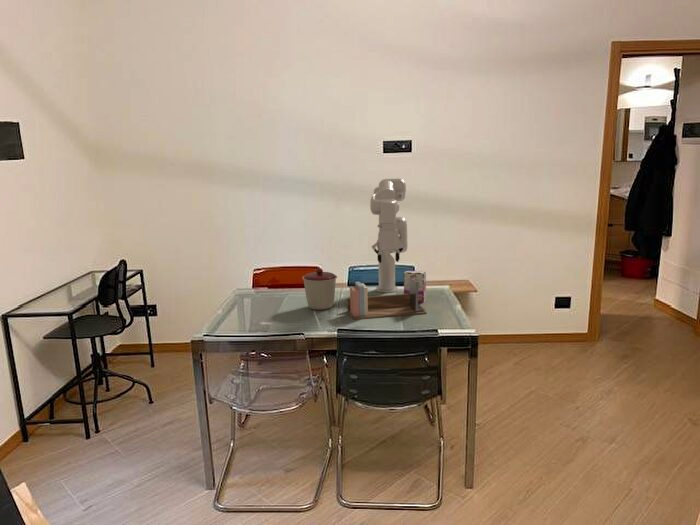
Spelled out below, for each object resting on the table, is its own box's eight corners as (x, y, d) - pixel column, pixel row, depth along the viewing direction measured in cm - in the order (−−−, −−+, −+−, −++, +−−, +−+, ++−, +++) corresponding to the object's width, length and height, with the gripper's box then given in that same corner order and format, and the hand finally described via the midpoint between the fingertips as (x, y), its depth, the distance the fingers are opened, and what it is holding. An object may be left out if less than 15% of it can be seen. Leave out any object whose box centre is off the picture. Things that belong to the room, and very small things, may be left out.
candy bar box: (426, 301, 287) (426, 271, 283) (423, 303, 282) (423, 273, 279) (406, 299, 291) (406, 270, 288) (403, 301, 287) (403, 272, 283)
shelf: (347, 311, 271) (347, 298, 270) (417, 305, 278) (417, 293, 277) (353, 319, 257) (353, 306, 256) (426, 313, 264) (426, 300, 262)
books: (350, 310, 269) (349, 282, 266) (363, 309, 270) (363, 281, 267) (354, 316, 259) (353, 286, 256) (368, 315, 260) (367, 285, 257)
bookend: (409, 306, 274) (409, 277, 271) (418, 305, 274) (418, 277, 272) (415, 311, 264) (415, 282, 261) (424, 310, 265) (425, 281, 262)
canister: (333, 312, 269) (332, 272, 265) (299, 311, 273) (297, 271, 268) (341, 303, 286) (340, 265, 282) (308, 302, 290) (307, 264, 286)
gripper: (372, 228, 253) (373, 264, 256) (407, 226, 256) (407, 262, 259) (369, 226, 260) (369, 261, 263) (403, 224, 263) (403, 259, 267)
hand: (388, 261), depth 261 cm, fingers open, 8 cm apart
